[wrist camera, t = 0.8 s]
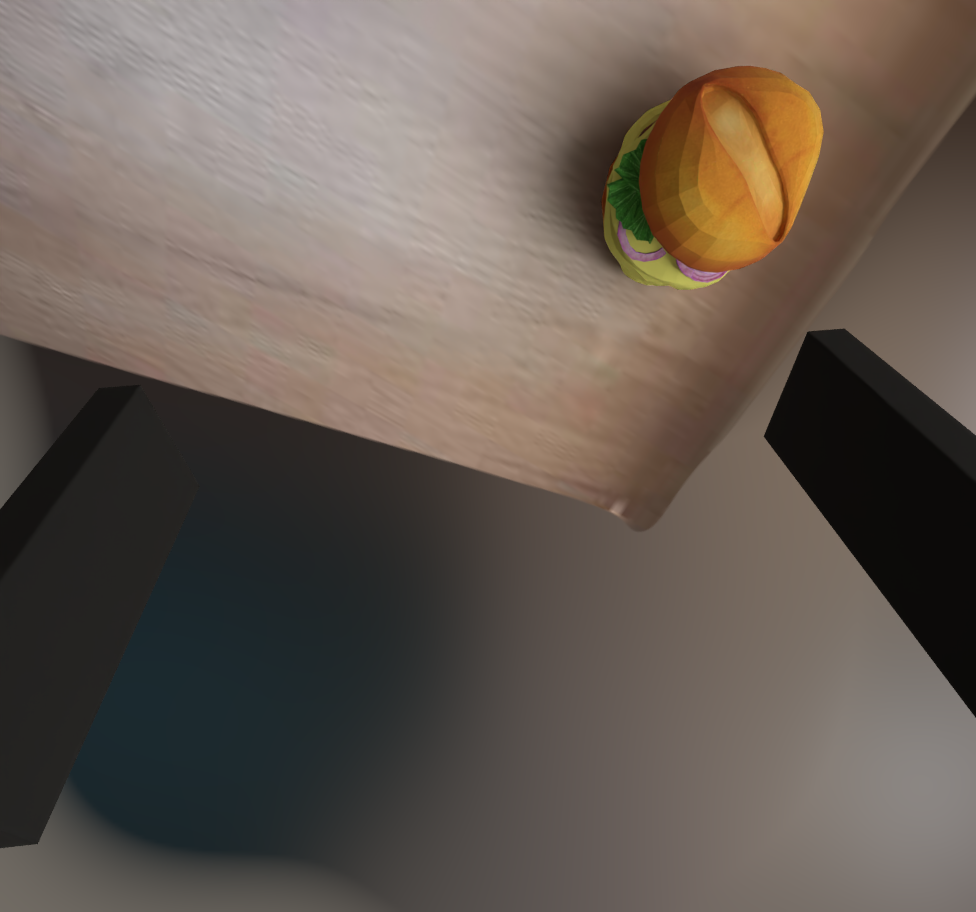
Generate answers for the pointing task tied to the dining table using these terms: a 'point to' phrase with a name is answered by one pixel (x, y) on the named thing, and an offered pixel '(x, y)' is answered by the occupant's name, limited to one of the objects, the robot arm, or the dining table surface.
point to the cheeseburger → (711, 177)
